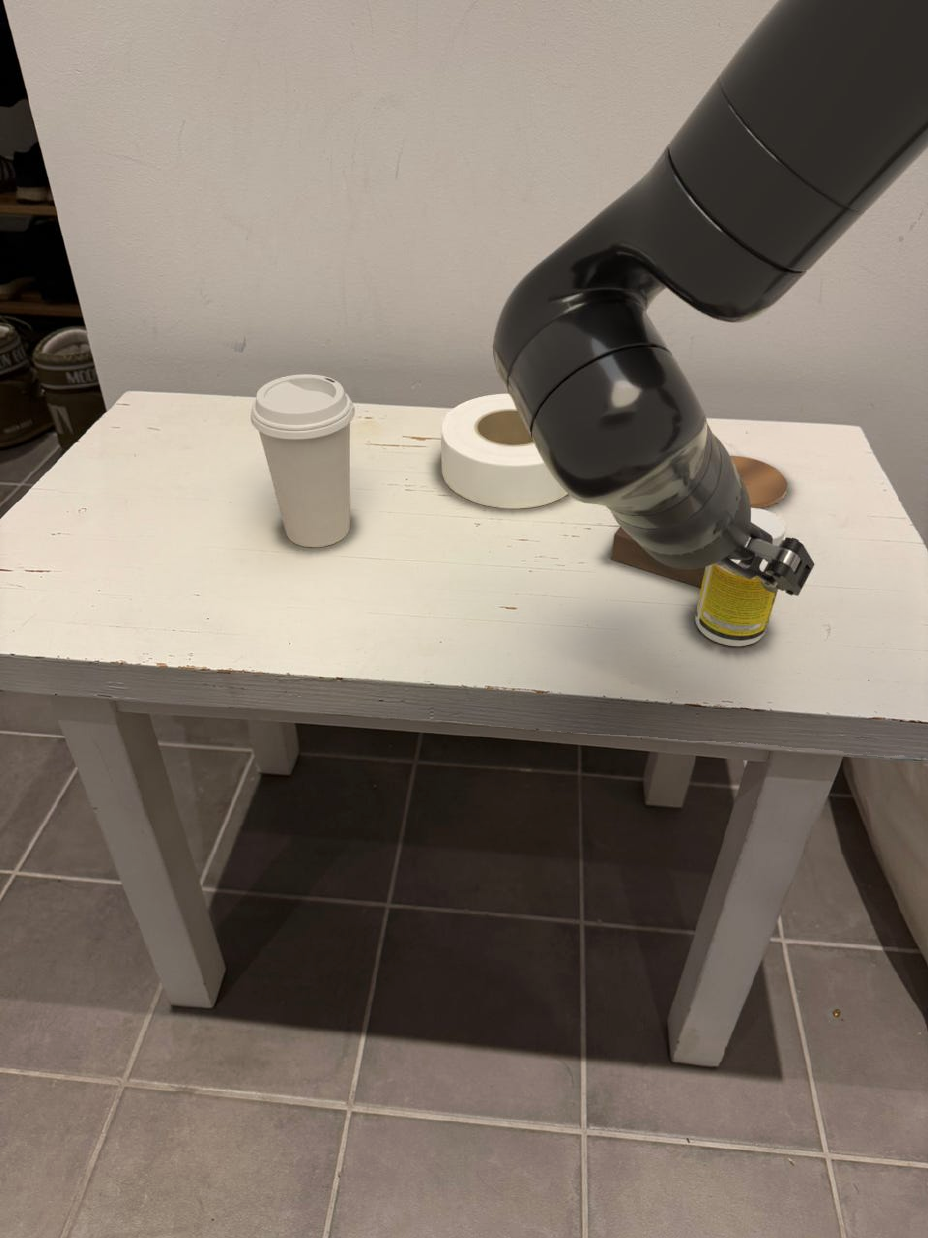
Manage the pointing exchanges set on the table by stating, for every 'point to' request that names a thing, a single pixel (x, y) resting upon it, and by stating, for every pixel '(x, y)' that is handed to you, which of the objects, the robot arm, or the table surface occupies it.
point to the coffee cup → (308, 454)
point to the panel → (650, 560)
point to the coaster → (760, 481)
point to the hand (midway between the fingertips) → (725, 558)
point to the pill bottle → (738, 596)
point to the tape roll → (494, 456)
